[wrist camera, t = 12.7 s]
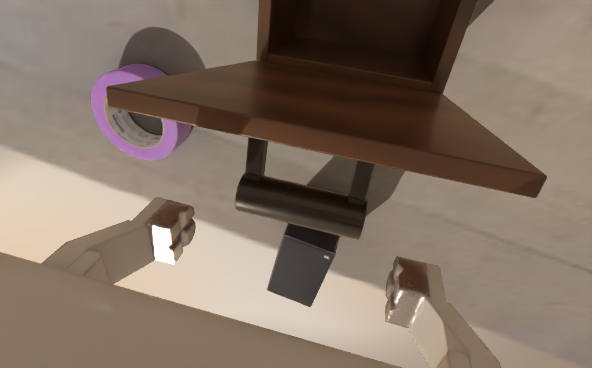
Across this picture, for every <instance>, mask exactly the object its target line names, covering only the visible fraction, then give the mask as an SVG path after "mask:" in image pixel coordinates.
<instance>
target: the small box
mask: <svg viewBox="0 0 592 368" xmlns="http://www.w3.org/2000/svg"><path fill="white" fill-rule="evenodd" d="M338 239H339V235H335V234H331V233H327V232H323V231H319V230H315V229H311V228H306V227H302V226H298V225H294V224H290V223H288V225H287V228H286V230H285V233H284V236H283V238H282V241H281V244H280V247H279V250H278V253H277V257H276V260H275V264H274V267H273V270H272V274H271V277H270V281H269V284H268V288H267V290H268V291H271V292H273V293H275V294H278V295H281V296H283V297H286V298H288V299H291V300H293V301H296V302H299V303H301V304H303V305H306V306H308V307H311V305H312V303H313V301H314V299H315V297H316V295H317V293H318V290H319V289H320V286H321V284H322V282H323V280H324V278H325V276H326V274H327V271H328V269H329V267H330V265H331V263H332V261H333V259H334V256H335V253H336V249H337V244H338Z"/></svg>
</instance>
